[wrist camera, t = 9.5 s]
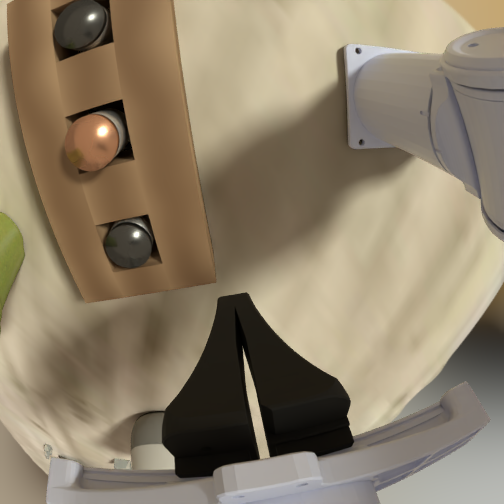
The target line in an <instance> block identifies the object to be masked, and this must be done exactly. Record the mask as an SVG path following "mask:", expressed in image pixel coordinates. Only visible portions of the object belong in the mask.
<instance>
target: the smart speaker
mask: <svg viewBox="0 0 504 504" xmlns="http://www.w3.org/2000/svg"><path fill="white" fill-rule="evenodd" d="M164 413H165V412H153V413H149V414H146V415H143V416H142V417H140V418H139V419H138V420H137V421H136V423H135V425H134V427H133V430H132V435H131V462H132V470H169V469H175V462H174V456H173V455H172V454H171V453H170V452H169V451H168V450H167V449H166V448H165V447H164V446H163V444H162V423H163V417H164Z"/></svg>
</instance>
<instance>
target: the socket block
mask: <svg viewBox="0 0 504 504" xmlns="http://www.w3.org/2000/svg"><path fill="white" fill-rule="evenodd" d="M76 1H79V0H14V1H12V2H10V3H8V4H7V26H8V44H9V56H10V65H11V73H12V81H13V87H14V94H15V100H16V105H17V110H18V115H19V120H20V125H21V129H22V134H23V138H24V142H25V146H26V150H27V154H28V157H29V161H30V165H31V168H32V171H33V175H34V178H35V181H36V184H37V188H38V191H39V194H40V197H41V200H42V203H43V205H44V208H45V211H46V214H47V216H48V219H49V222H50V224H51V227H52V230H53V232H54V235H55V237H56V240H57V242H58V244H59V247H60V249H61V252H62V254H63V256H64V259H65V261H66V263H67V265H68V267H69V270H70V272H71V274H72V276H73V278H74V280H75V282H76V285H77V287H78V289H79V291H80V293H81V295H82V297H83V299H84V301H85V303H90V302H97V301H104V300H111V299H117V298H124V297H130V296H137V295H143V294H149V293H156V292H162V291H168V290H174V289H180V288H186V287H192V286H198V285H204V284H210V283H216V273H215V264H214V254H213V248H212V243H211V238H210V233H209V227H208V222H207V217H206V212H205V206H204V201H203V195H202V190H201V184H200V179H199V173H198V167H197V162H196V156H195V150H194V144H193V138H192V132H191V125H190V119H189V113H188V106H187V100H186V93H185V86H184V79H183V72H182V65H181V58H180V50H179V43H178V35H177V27H176V18H175V10H174V1H173V0H93V1H95V2H97V3H98V4H100V5H101V6H103V7H104V8H110V11H111V22H112V31H113V39H114V42H113V43H110V44H106V45H103V46H100V47H97V48H94V49H91V50H88V51H86V52H83V53H80V54H79V52H78V50H74V49H68V48H65V47H62V46H61V45H60V44H59V43H58V42H57V40H56V38H55V34H54V29H55V24H56V21H57V19H58V17H59V15H60V14H61V13H62V11H63V10H64V9H65V8H67V7H68V6H69V5H71V4H72V3H74V2H76ZM121 99H123V105H124V110H125V115H126V121H127V126H128V131H129V135H130V140H131V145H132V149H129V150H125V151H121V152H119V153H118V154H117V155H116V156H115V157H114V158H113V159H112V160H111V161H110V162H109V163H108V164H107V165H106V166H105V167H103V168H101V169H99V170H96V171H84V170H81V169H79V168H77V167H76V166H74V165H73V164H72V163H71V161H70V160H69V158H68V156H67V154H66V151H65V137H66V134H67V131H68V129H69V128H70V126H71V125H72V124H73V123H74V122H75V121H76V120H77V119H79V118H81V117H84V116H86V115H89V113H88V109H91V108H94V107H97V106H101V105H104V104H107V103H111V102H114V101H118V100H121ZM146 214H148V215H149V218H150V222H151V226H152V229H153V233H154V236H155V237H154V241H153V245H152V250H151V254H150V257H149V259H148V260H147V262H146V263H144V264H143V265H141V266H139V267H136V268H125V267H122V266H119V265H117V264H116V263H115V262H113V261H112V260H111V259H110V257H109V256H108V254H107V251H106V247H105V244H106V239H107V237H108V235H109V233H110V231H111V229H112V227H113V225H114V223H115V221H118V220H122V219H127V218H132V217H136V216H141V215H146Z"/></svg>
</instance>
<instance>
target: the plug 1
mask: <svg viewBox="0 0 504 504" xmlns="http://www.w3.org/2000/svg"><path fill="white" fill-rule="evenodd" d="M54 34H55V38H56V40H57V42H58V43H59V44H60V45H61V46H62V47H65V48H68V49H74V50H80V51H85V52H86V51H88V50H91V49H94V48H97V47H100V46H103V45H106V44H110V43H113V42H114V39H113V31H112V22H111V12H110V11H109V10H107V9H106V8H104V7H103V6H101V5H100V4H98V3H97V2H95V1H93V0H79V1H76V2H74V3H72V4H71V5H69V6H68V7H67V8H65V9H64V10H63V11H62V13H61V14H60V15H59V17H58V19H57V21H56V24H55V29H54Z"/></svg>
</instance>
